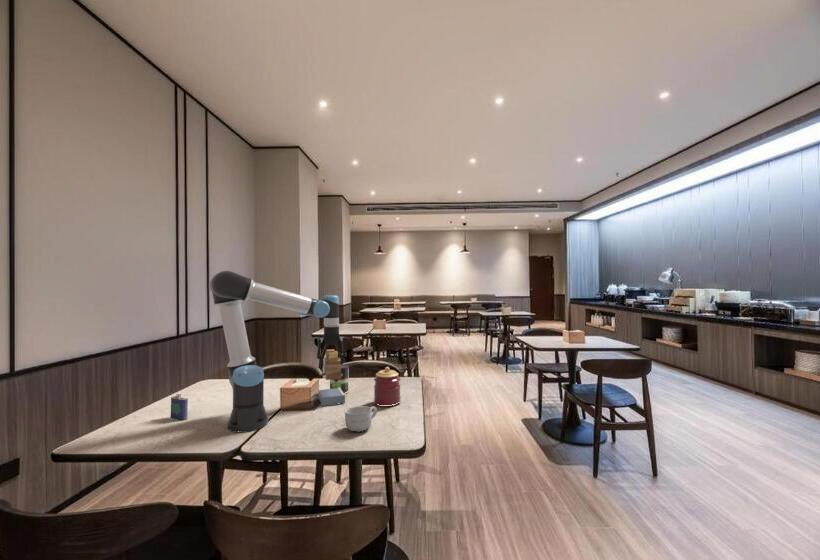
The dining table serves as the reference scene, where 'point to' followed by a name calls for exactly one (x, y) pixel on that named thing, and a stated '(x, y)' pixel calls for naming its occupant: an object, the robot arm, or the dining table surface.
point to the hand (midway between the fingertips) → (331, 371)
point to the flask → (179, 408)
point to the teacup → (359, 417)
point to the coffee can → (344, 380)
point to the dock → (331, 396)
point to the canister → (387, 387)
